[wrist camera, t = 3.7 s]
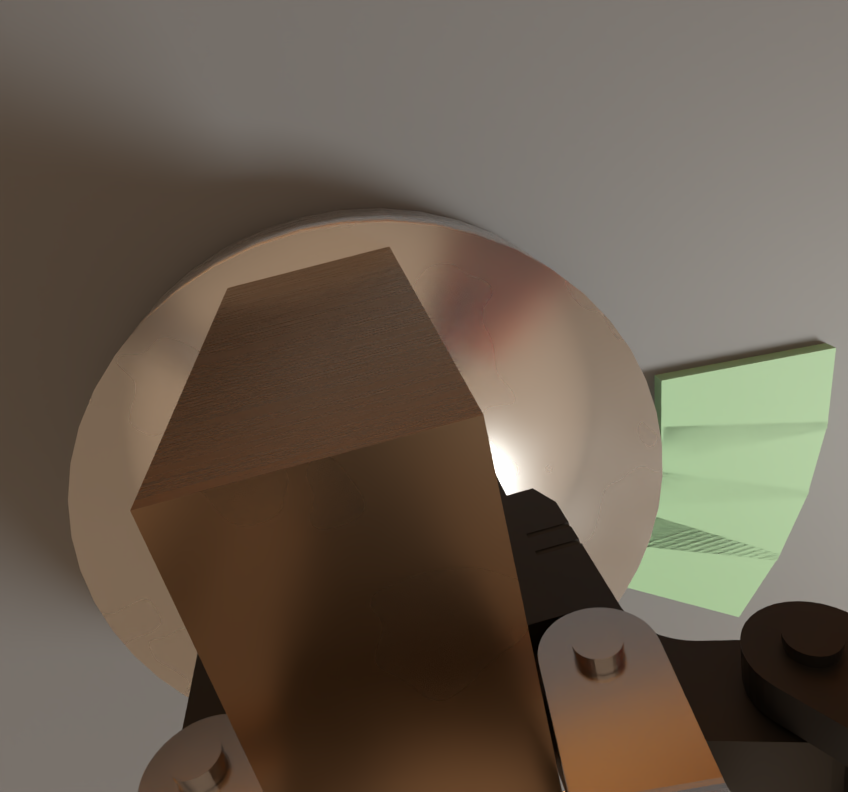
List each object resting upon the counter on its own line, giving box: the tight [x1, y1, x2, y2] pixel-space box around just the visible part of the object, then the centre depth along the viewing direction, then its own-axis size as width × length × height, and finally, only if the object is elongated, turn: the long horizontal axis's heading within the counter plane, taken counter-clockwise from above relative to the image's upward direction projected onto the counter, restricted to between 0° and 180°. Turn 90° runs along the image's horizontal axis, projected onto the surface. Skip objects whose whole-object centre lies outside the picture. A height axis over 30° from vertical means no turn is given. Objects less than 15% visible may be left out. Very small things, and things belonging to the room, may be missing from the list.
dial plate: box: [0, 0, 848, 792], centre depth 14 cm, size 21×21×2 cm
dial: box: [68, 208, 663, 792], centre depth 11 cm, size 14×10×8 cm
